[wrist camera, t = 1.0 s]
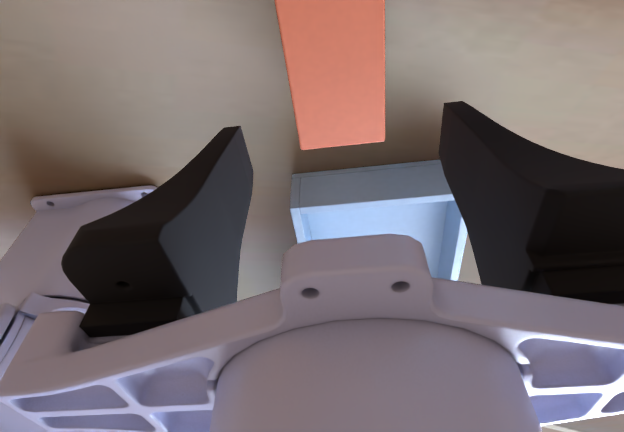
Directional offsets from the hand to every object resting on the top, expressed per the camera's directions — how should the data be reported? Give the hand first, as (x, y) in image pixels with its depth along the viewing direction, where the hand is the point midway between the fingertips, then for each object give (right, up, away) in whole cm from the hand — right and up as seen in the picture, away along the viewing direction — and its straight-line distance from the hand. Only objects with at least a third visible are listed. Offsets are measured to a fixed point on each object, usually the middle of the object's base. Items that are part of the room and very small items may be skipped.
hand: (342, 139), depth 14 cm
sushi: (0, +6, +7) cm, 9 cm away
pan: (+4, -6, +18) cm, 20 cm away
